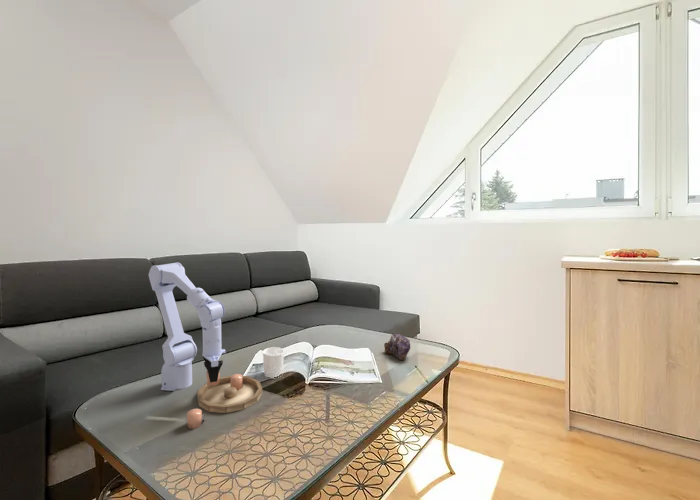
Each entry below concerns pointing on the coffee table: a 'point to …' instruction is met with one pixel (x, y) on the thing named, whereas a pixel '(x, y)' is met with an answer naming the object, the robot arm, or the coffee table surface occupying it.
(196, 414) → the bead
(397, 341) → the rock
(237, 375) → the bead
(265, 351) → the white cup
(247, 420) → the coffee table surface
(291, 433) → the coffee table surface
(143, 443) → the coffee table surface
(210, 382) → the bead
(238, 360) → the coffee table surface
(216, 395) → the ring tray
